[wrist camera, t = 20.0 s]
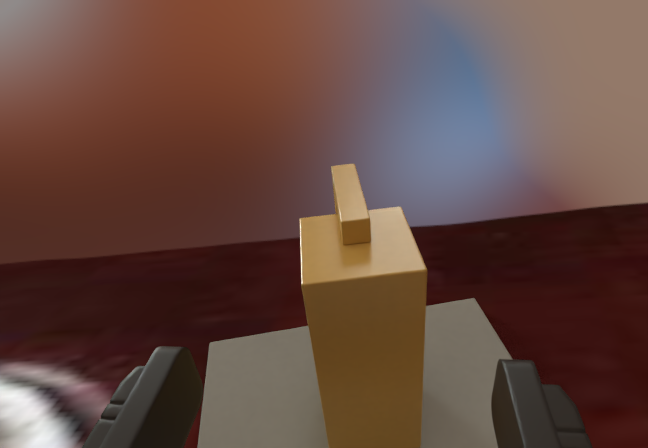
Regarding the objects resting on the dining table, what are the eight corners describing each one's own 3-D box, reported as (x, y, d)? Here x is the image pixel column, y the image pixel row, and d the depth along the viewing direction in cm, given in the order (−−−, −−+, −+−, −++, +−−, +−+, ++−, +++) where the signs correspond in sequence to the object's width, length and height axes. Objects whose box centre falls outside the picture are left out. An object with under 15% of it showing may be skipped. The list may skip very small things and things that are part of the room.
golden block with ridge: (330, 458, 19) (296, 259, 13) (322, 348, 24) (295, 169, 18) (421, 448, 19) (428, 244, 13) (393, 339, 24) (390, 158, 18)
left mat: (184, 603, 16) (179, 597, 16) (211, 349, 26) (209, 342, 26) (603, 519, 17) (608, 511, 16) (473, 304, 27) (474, 297, 27)
